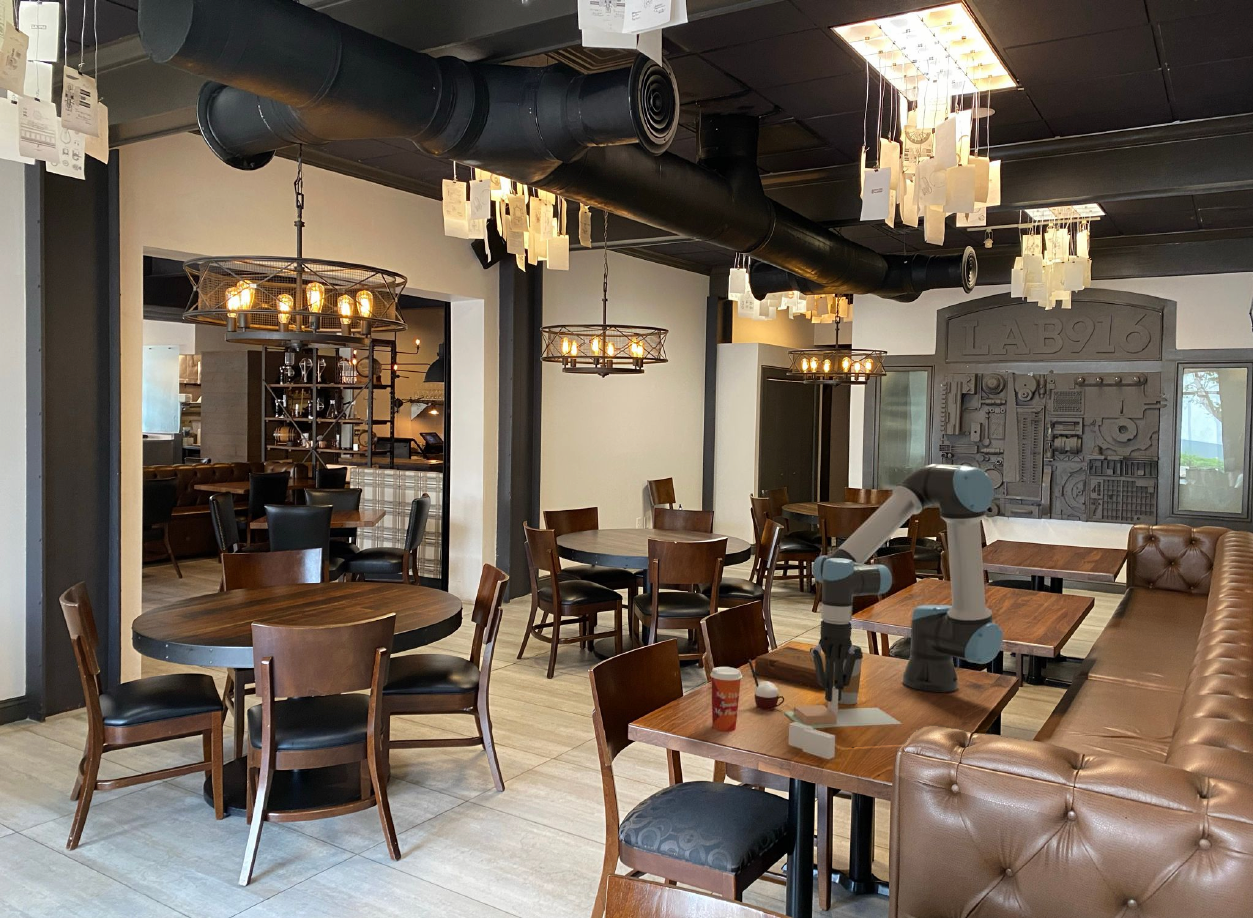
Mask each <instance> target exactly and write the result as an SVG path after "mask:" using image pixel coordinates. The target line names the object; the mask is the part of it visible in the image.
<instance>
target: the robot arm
mask: <svg viewBox="0 0 1253 918" xmlns="http://www.w3.org/2000/svg"><path fill="white" fill-rule="evenodd" d="M891 492H892V493H891V494H892V495H891V496H890V497H888V499H886V500H885V502H884V503H882V505H880V507H879V508H877V509H876V511H875V512H873V513H872V514H871V515H870V516H869V517H868V519H866V520H865V521H864V522H863V523H862V524H861V525H860V526H859V527H858V528H857V529H856V530H855V531H854V532H853V533H852V534H851V535H850V536H849V537H848V538H847V539H846V540H845V541H844V542H843V543H842V544H841V545H840V546H839V547H837V549H835V551H834V552H832V554H830V555H820V556H818V557H816V558H815V560H814V562H813V563H812V569H811V571H812V576H813V578H814V579H815V581H817V582H819V583H820V584H821V585H822V586H821V608H820V609H821V610H820V611H821V613H820V616H821V617H820V618H821V619H822V620H821V621H820V631H819V632H820V639H819V640H818V645H816V646H815V647H810V648H809V651H810V652H811V654H812V656H813V658H814V663H815V669H816V674H817V679H818V684H820V685H821V686H823V687H825V690H824V693H825V694H824V699H825V701H827V708H828V709H829V710H831V711H832V712H833V713H835V714H836V715H837V713H838V709H839V703H838V701H841V690H843V689H844V686H848V685H849V683H850V679H851V676H852V672H853V668H854V664H855V661H856V657H857V656H858V654H859V653H860V649H858V648H856V647H854V646H853V642H852V640H851V638H852V637H851V636H852V619H853V599H854V597H859V596H860V597H861V596H869V595H870V596H873V595H874V596H878V595H880V594H885V593H887V592H888V591H889V590H890V589H891V587H892V584H893V583H892V580H893V576H892V573H891V571H890V569H889V568H888V566H886V565H884V564H876V563H873V564H865V562H867V561H868V560H869V558H870V557H872V555H874V554H875V552H876V551H878V550H879V549H880V547H881V546H883V545H884V543H886V542H887V541H888V540H889V538H891V536H892V535H894V534H895V532H897V531H898V530H899V529H900V528H901V527H902V525H904V524H905V523H906V522H907V520H908V519H909V518H911V516H913V515H919V514H920V513H921V512H922V511H923V510H924V509H926V508H928V507H931V506H935V507H939V514H940V515H939V517H940V518H941V519H942V520H943V521H945V522H946V531H947V532H946V535H947V546H948V550H947V551H948V563H949V577H950V591H951V605H947V604H946V605H945V604H927V605H926V604H925V605H918V606H916V607H914V609H913V610H912V615H911V616H912V617H911V620H910V621H911V628H910V630H911V631H910V653H909V654H910V656H909V658H908V661H907V663H906V666H905V669H904V671H903V673H902V683H903V684H904V685H905V686H907V687H909V688H912V689H915V690H919V691H924V692H931V693H932V692H933V693H950V692H953V691H954V692H955V691H956V690H958V687H959V680H958V676H957V672H956V668H955V666H954V665H955V663H954V660H953V657H954V658H958V659H960V660H965V661H966V662H969V663H976V664H980V665H983V664H987V663H990V662H991V661H993V660H994V659H995V658H996V657H997V656H998V653H1000V650H1001V649H1002V645H1003V640H1004V633H1003V629H1002V628H1001V627H1000V626H999V624H997V623H995V622H993V612H992V610H991V609H990V608H988V607H987V606H986V595H985V594H986V592H985V578H984V577H985V576H984V564H983V563H984V562H983V560H984V559H983V550H982V549H983V547H982V536H981V535H982V534H981V533H982V532H981V521H982V519H983V518H984V517H986V514H987V513H986V511H987V510H988V509H989V508H990V507H991V505H992V501H993V500H994V496H995V489H994V484H993V481H992V479H991V477H990V475H989V474H988V473H987V472H985V470H983V469H982V468H979V467H973V466H970V465H959V464H957V465H956V464H942V463H932V464H927V465H925V466H922V467H920V468H918V469H916V470H915V471H913V472H912V473H910V474H909V475H907V476H906V477H904V478H903V479H902V480H901V481H900V482H899V483H898V484H897V485H896V486H895V487H894V488H893V489H892V491H891ZM847 652H849V653H848V655H847V659H846V663H845V666H844V670H843V664H844V661H845V655H846V653H847ZM821 654H825V660H826V663H825V673H824V668H823V662H822V658H821V656H820V655H821ZM834 662H835V670H834ZM833 679H834V686H835V687H833Z"/></svg>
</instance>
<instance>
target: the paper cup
mask: <svg viewBox="0 0 1253 918" xmlns="http://www.w3.org/2000/svg"><path fill="white" fill-rule="evenodd" d="M710 677H711V718H712V728H713V729H714V730H715V731H721V732H732V731H735V730H736V728H737V727H736V726H737V719H738V711H739V701H740V700H739V699H740V688H741V679H742V678H743V675H742V672H741V670H740V669H738V668H735V667H730V666H718V667H713V668H712V670H711V673H710Z"/></svg>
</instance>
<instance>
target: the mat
mask: <svg viewBox="0 0 1253 918" xmlns="http://www.w3.org/2000/svg"><path fill="white" fill-rule="evenodd" d="M793 713H794V710H792V711H784V712H783V714H784V715H786V716H787V717H788V718H789V719H791V720H792V721H793V723H794V722H797V723H801V724H804V725H808V726H811V727H812V728H813V729H815V730H818V731H820V730H819V728H822V729H823V728H838V727H839V728H842V727H859V726H860V727H861V726H863V727H865V726H866V727H867V726H883V725H884V726H886V725H903V723H902V722H900V721H899V720H897V719H896V718H894V717H893V716H891V715H889V714H888V713H886V712H885V711H883V710H881V709H880V708H879V707H864V708H863V707H862V708H860V707H859V708H858V707H857V708H840V709H839V708H838V713H837V723H824V724H805V723H804V722H803V721H801V720H800V719H799V718H798V717H796V716H795V715H794V714H793Z"/></svg>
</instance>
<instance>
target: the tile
mask: <svg viewBox="0 0 1253 918" xmlns="http://www.w3.org/2000/svg"><path fill="white" fill-rule="evenodd" d="M793 711H794V713H793V714H794V715H795V716H796V717H798V718H799V719H800V720H801V721H803V722H804V723H805V724H824V723H837V715H836V714H835V713H833V712H832V711H831V710H829V709H828V707H826V706H825V705H824V704H820V705H819V704H816V705H815V704H814V705H800V706H799V705H795V706H793Z"/></svg>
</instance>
